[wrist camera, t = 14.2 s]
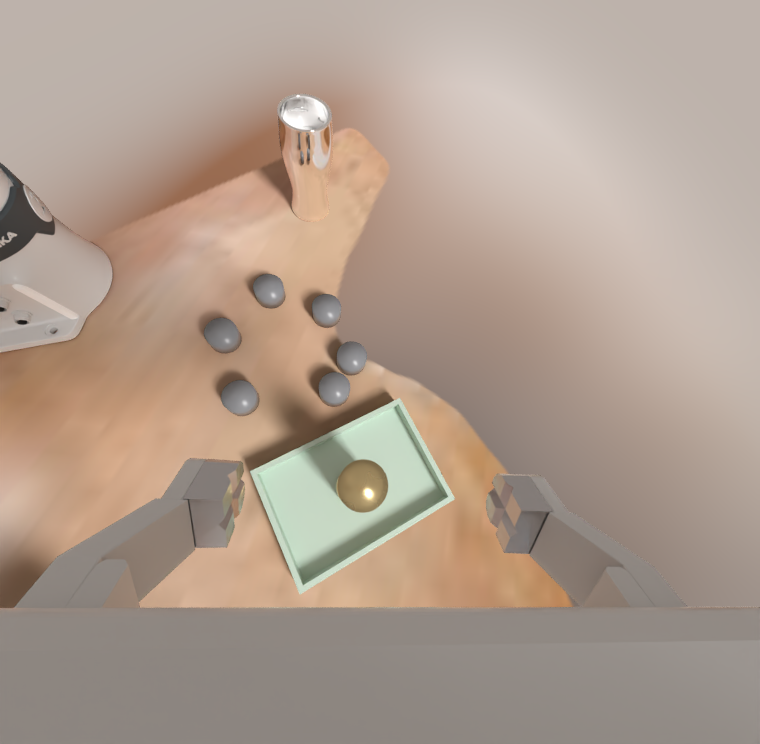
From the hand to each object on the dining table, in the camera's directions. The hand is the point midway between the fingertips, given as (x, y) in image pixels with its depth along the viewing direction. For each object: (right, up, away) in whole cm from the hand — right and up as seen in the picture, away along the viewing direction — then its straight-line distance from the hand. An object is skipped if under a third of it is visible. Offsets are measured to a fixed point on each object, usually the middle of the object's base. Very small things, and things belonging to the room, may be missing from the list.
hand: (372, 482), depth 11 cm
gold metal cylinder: (-3, -10, +31) cm, 33 cm away
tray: (-3, -11, +31) cm, 33 cm away
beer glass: (-11, +30, +45) cm, 55 cm away
